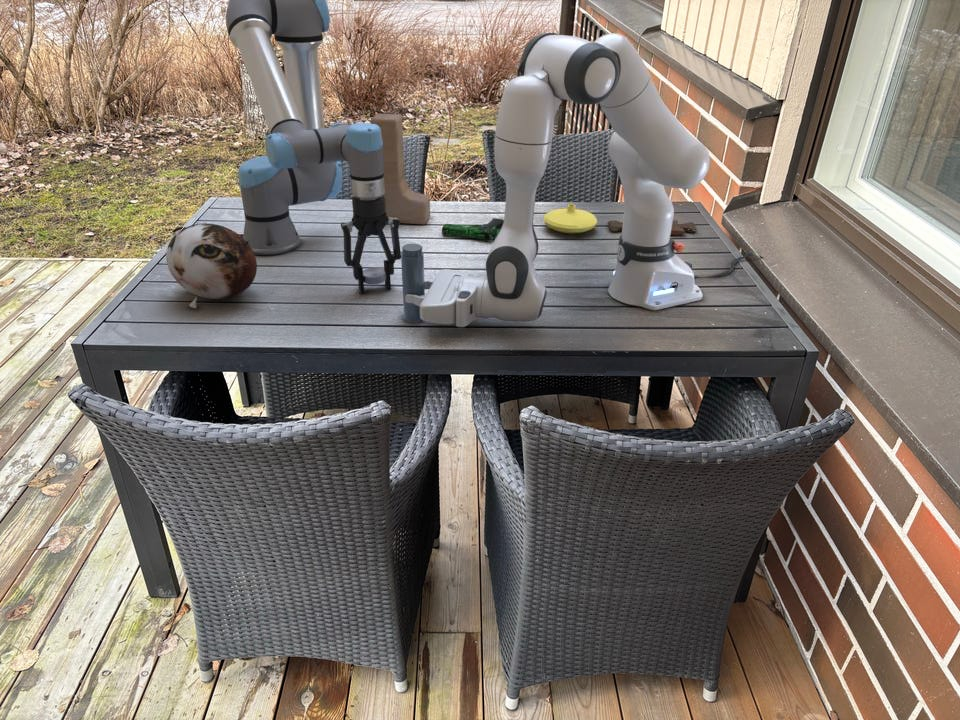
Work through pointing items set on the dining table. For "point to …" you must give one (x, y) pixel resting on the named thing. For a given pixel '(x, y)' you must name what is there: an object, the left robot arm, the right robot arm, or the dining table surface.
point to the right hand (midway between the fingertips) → (409, 291)
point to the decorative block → (399, 175)
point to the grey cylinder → (412, 279)
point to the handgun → (475, 230)
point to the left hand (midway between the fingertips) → (374, 288)
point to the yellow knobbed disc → (570, 220)
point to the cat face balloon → (211, 261)
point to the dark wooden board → (676, 229)
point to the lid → (374, 276)
